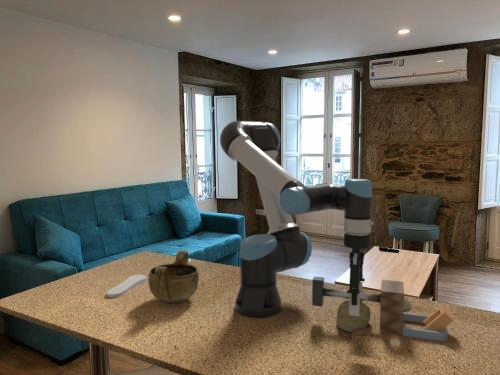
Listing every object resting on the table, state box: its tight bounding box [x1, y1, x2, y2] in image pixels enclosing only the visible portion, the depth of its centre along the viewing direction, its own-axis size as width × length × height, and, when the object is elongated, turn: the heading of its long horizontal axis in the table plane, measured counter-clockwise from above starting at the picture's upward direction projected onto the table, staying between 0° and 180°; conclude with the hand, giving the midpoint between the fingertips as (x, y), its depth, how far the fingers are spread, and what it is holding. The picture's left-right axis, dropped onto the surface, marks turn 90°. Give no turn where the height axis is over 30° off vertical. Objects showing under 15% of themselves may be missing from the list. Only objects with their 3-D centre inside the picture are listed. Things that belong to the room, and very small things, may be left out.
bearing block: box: [379, 279, 405, 336], centre depth 116 cm, size 6×10×13 cm, turn 161°
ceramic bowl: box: [148, 249, 200, 305], centre depth 139 cm, size 22×17×15 cm
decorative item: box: [335, 299, 372, 333], centre depth 118 cm, size 10×10×10 cm
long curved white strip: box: [106, 274, 148, 299], centre depth 153 cm, size 7×22×2 cm, turn 166°
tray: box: [402, 312, 449, 343], centre depth 114 cm, size 11×11×4 cm
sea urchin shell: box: [378, 295, 411, 311], centre depth 131 cm, size 9×8×8 cm
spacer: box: [422, 305, 454, 332], centre depth 112 cm, size 3×5×7 cm
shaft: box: [311, 276, 381, 307], centre depth 119 cm, size 22×3×8 cm, turn 71°
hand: (355, 308), depth 118 cm, fingers open, 9 cm apart
